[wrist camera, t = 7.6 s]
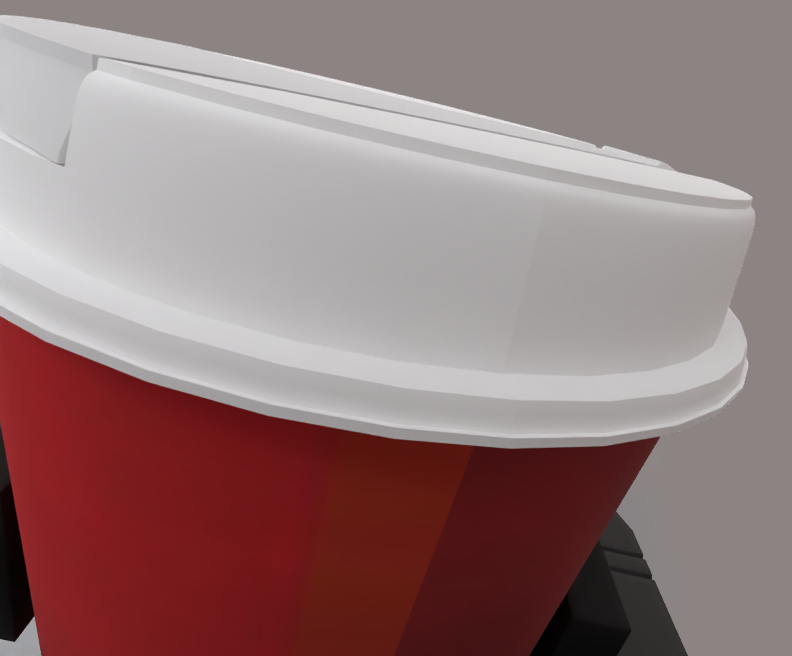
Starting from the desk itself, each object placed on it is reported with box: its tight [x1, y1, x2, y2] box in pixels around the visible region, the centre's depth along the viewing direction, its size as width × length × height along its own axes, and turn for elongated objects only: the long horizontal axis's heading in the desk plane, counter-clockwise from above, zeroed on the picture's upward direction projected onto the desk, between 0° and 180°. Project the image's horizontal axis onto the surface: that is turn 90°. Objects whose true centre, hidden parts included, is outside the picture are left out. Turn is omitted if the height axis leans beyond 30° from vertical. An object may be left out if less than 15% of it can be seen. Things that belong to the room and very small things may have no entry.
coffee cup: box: [0, 15, 755, 656], centre depth 9 cm, size 8×8×15 cm
